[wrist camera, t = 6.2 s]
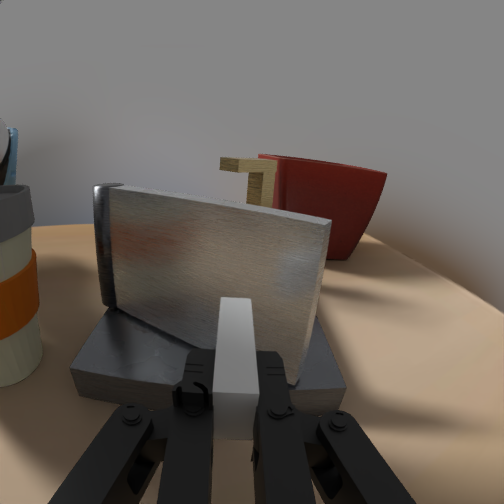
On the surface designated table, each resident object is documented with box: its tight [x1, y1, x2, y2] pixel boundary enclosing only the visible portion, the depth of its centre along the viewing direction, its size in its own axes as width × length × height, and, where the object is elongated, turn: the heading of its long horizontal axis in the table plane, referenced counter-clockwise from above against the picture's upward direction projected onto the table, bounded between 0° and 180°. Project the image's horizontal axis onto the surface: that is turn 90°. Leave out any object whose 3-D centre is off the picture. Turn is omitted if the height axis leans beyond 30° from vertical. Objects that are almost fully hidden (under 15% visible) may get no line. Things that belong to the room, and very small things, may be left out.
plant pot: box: [258, 154, 387, 260], centre depth 56 cm, size 19×19×17 cm
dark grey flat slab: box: [69, 307, 347, 416], centre depth 31 cm, size 20×24×3 cm
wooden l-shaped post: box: [220, 157, 277, 208], centre depth 39 cm, size 3×7×16 cm, turn 139°
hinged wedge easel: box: [93, 183, 332, 385], centre depth 22 cm, size 20×3×11 cm, turn 63°
